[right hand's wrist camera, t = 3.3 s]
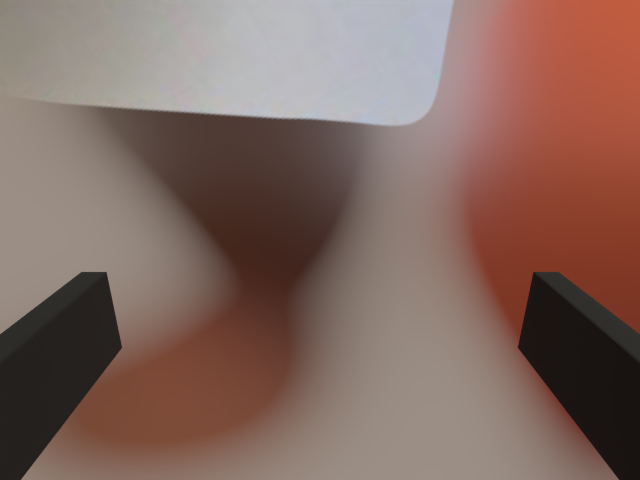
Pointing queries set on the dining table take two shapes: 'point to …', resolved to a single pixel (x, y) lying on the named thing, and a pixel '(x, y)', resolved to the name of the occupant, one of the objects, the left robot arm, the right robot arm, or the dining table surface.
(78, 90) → the dining table surface
